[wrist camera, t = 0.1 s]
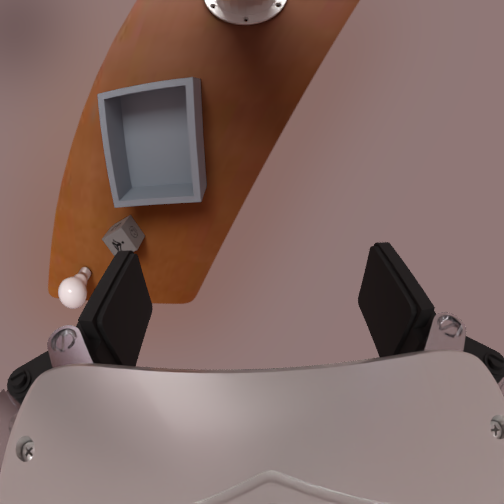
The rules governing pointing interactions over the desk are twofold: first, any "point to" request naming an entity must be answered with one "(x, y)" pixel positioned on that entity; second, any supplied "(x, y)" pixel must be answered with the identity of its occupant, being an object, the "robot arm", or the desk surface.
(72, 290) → the lightbulb
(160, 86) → the box
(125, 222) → the dice cube
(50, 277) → the desk surface
